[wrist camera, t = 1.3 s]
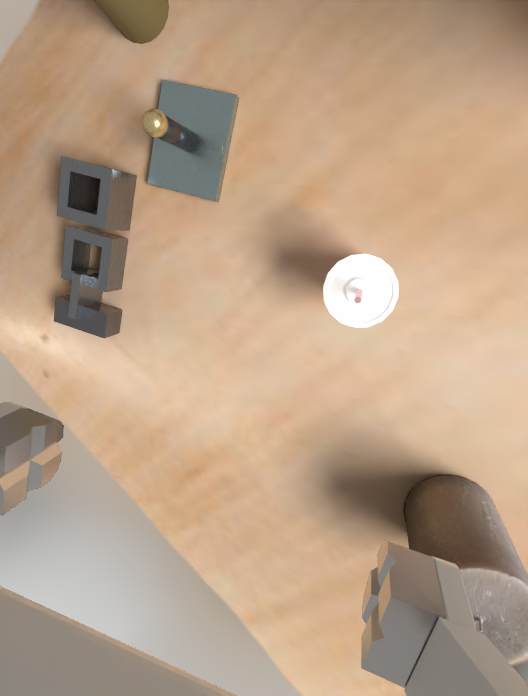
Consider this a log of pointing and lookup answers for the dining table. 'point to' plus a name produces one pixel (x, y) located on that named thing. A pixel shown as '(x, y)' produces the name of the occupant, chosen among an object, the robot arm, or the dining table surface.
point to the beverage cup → (360, 290)
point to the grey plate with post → (190, 138)
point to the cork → (137, 17)
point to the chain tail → (91, 281)
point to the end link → (81, 195)
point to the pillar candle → (473, 555)
